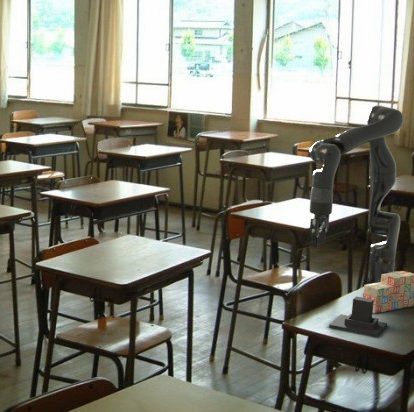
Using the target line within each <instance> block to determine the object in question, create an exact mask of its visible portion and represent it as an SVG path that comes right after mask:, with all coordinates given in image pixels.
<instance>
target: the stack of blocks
mask: <svg viewBox="0 0 414 412" xmlns="http://www.w3.org/2000/svg"><path fill="white" fill-rule="evenodd" d="M362 297H363V298H368V299H374V303H373V313H372V314H378V313H384V312H388V311H389V312H390V311H394V310H399V309H404V308H409V307H413V306H414V273H412V272H408V271H404V270H400V271H398V270H397V271H394V272H392V273H387V274H382V276H381V282H379V283H373V284H368V285H367V284H364V285H363V293H362Z"/></svg>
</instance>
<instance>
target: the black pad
mask: <svg viewBox="0 0 414 412" xmlns="http://www.w3.org/2000/svg"><path fill="white" fill-rule="evenodd" d="M373 303H374V299H368V298H363V296H355V297H353V299H352V305H351V314H352V315H351V319H352V320H357V321H362V322H368V323H372V318H373V314H374V313H373Z"/></svg>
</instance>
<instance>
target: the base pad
mask: <svg viewBox="0 0 414 412" xmlns="http://www.w3.org/2000/svg"><path fill="white" fill-rule="evenodd" d="M351 315H352V313H349V314H348V315H347V314H343V313H342V314H339V315H338V316H337V317H335V319H334V320H333V321H332V322H330V323H329V325H328V328H329V329H334V330H337V331H338V330H339V331H343V332H348V333H354V334H359V335H364V336H368V337H373V338H378V337H379V336H380V335H381V334H382V333H383V331H384V330H385V329H386V328H387V327H388V322H383V321H380V319H379V318H377V317H372V323H368V322H362V321H357V320H352V319H351Z"/></svg>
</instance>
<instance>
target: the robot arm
mask: <svg viewBox="0 0 414 412" xmlns="http://www.w3.org/2000/svg"><path fill="white" fill-rule="evenodd" d="M366 122H367V123H366V125H360V126H356V127H351V128H349V129H346V130H345V131H343V132H340V133H339V134H337V135H335V136H332V137H328V138H324V139H322V140H319V141H317V142H315V143H314V144H313V145H312V146H311V147H310V148H309V157H310V159H311V160H312V161H313V162H315V163H319V164H323V165H322V168H321V169H316V170H314V171H313V174H312V183H311V185H312V186H311V191H310V198H309V213H311V214H313V215H314V216H313V218H311V219H310V223H309V233H308V234H309V235H308V236H310V237H311V238H310V239H311V240H310V247H311V248H315V249H317V248H318V246H319V243H320V244H325V242H326V236H327V232H328V230H329V228H330V227H329V226H330V215H331V214H332V213H333V203H334V179H335V175H336V172H337V169H338V166H339V164H340V161H341V158H342V157H341V156H342V155H345V154H347V153H349V152H351V151H353V150H355V149H357V148H359V147H360V146H362V145H365V144H367V143H369V190H370V191H369V209H368V210H369V211H368V222H367V223H368V225H367V226H368V231H369V234H371V235H373V236H374V235H375V236H379V237H385V238H386V240H385V241H382V242H377V243H373V244H371V245H370V250H369V258H368V259H369V260H368V270H367V280H366V281H367V282H366V285H368V284H373V283H379V282H381V276H382V274H387V273H392V272H395V266H396V255H397V248H398V241H399V234H400V228H401V217H400V215H399V214H398V213H395V212H388V211H381V205H382V202H383V201H384V199H385V197H387V195H388V194H389V193H390V191H392V189H393V187H394V186H395V185H396V182H397V163H396V161H395V158H394V156H393V154H392V152H391V149H390V148H389V146H388V144H387V140H386V137H387V136H390V135H393V134H395V133H397V132H398V131H399V130H400V129H401V128H402V126H403V123H404V115H403V112H401V110H399V109H396V108H395V107H394V108H393V107H389V106H384V105H379V104H378V105H374V106H372V107H371V108H370V110H369V112H368V114H367V120H366Z"/></svg>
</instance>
